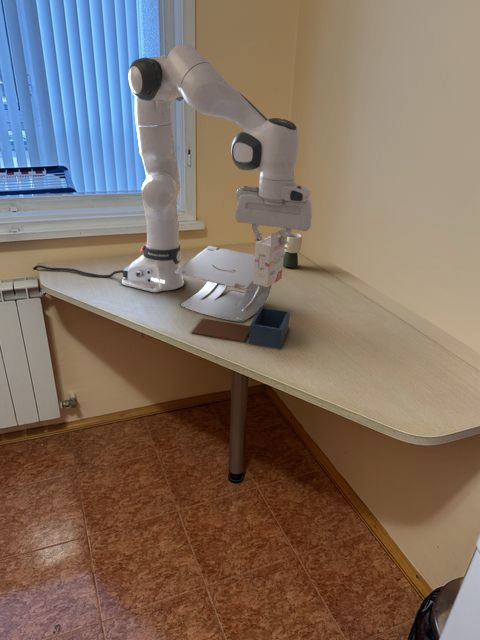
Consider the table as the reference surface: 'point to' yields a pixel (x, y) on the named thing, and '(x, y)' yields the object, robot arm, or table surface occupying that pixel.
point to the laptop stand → (224, 284)
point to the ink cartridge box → (269, 259)
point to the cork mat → (222, 330)
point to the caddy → (269, 327)
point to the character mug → (292, 250)
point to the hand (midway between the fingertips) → (270, 242)
